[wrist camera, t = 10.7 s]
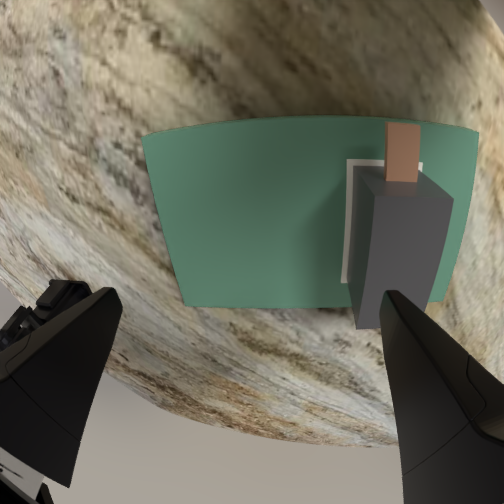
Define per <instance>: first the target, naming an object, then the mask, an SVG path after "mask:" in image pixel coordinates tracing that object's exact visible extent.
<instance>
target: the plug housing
mask: <svg viewBox="0 0 504 504" xmlns="http://www.w3.org/2000/svg"><path fill="white" fill-rule="evenodd" d="M420 127H421V126H420V125H417V124H408V123H398V122H385V154H384V166H353V192H352V215H351V231H350V245H349V256H348V267H347V277H346V279H347V284H348V289H349V293H350V298H351V303H352V309H353V314H354V319H355V325H356V330H357V329H375V328H381V327H380V319H379V310H380V306H381V302H382V298H383V294H384V292H385V291H386V290H398V291H400V292H401V293H402V294H403V295H404V296H406V297H407V298H408V299H409V300H410V301H411V302H413V303H414V304H415V305H416V306H417V307H418V308H420V309H421V310H422V311H423V312H424V311H425V309H426V306H427V303H428V300H429V297H430V294H431V291H432V288H433V285H434V281H435V278H436V275H437V271H438V268H439V264H440V261H441V257H442V253H443V249H444V245H445V241H446V237H447V233H448V228H449V223H450V219H451V213H452V208H453V202H454V198H453V197H451V196H450V195H449V194H448V193H447V192H446V191H444V190H443V189H442V188H441V187H440V186H439V185H437V184H436V183H435V182H434V181H432V180H431V179H430V178H429V177H427V176H426V175H425V174H424V173H422V172H421V171H420V170H418V166H419V152H420Z"/></svg>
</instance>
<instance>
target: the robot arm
mask: <svg viewBox="0 0 504 504" xmlns="http://www.w3.org/2000/svg"><path fill="white" fill-rule="evenodd" d="M49 285H50V286H49V287H48V288H47V289H46V290H45V292H44V293H43V294H42V295H41V296H40V297H39V299H38V300H37V301H36V305H37V307H36V308H35V309H34V310H33V309H32V308H31V307H30V306H29V307H28V308H27V309H26V308H25V307H23V306H20V307H19V308H18V309H17V310H16V312H15V313H14V314H13V315H12V316H11V318H10V319H9V320H8V321H7V323H6V324H5V325H4V326H3V327H2V329H1V330H0V504H54V503H53V500H52V498H51V495H50V493H49V489H48V486H47V485H46V484H45V483H43V482H42V481H43V478H44V476H46V477H48V478H50V479H52V480H53V481H56V482H57V483H59V484H61V485H63V486H65V487H67V488H69V487H70V484H71V479H72V475H73V471H74V466H75V463H76V458H77V454H78V450H79V447H80V443H81V442H80V441H81V439H82V435H83V432H84V428H85V425H86V421H87V418H88V415H89V411H90V408H91V405H92V402H93V399H94V396H95V393H96V390H97V387H98V384H99V381H100V378H101V376H102V373H103V370H104V367H105V364H106V362H107V359H108V356H109V354H110V351H111V348H112V345H113V342H114V338H115V335H116V331H117V328H118V324H119V321H120V318H121V314H122V311H123V306H122V303H121V301H120V299H119V296H118V294H117V292H116V290H115V289H114V288H112V287H103V288H102V289H100V290H98V291H97V292H95V293H93V294H92V293H91V291H90V289H89V287H88V285H87V284H86V283H85V282H84V281H70V280H54V279H51V280H50V281H49ZM379 319H380V327H381V335H382V343H383V353H384V360H385V365H386V370H387V375H388V380H389V385H390V390H391V396H392V401H393V407H394V413H395V420H396V426H397V433H398V441H399V449H400V458H401V468H402V482H403V498H404V504H504V384H502V383H501V382H500V381H499V380H498V379H496V378H495V377H494V376H493V375H492V374H491V373H490V372H488V371H487V370H486V369H485V368H484V367H483V366H482V365H481V364H480V363H479V362H478V361H477V360H476V359H475V358H473V357H472V356H471V355H470V354H469V353H468V352H467V351H466V350H465V349H464V348H463V347H462V346H461V345H460V344H459V343H457V342H456V341H455V340H454V339H453V338H452V337H451V336H450V335H449V334H448V333H447V332H446V331H444V330H443V329H442V328H441V327H440V326H439V325H438V324H437V323H436V322H434V321H433V320H432V319H431V318H430V317H429V316H428V315H426V314H425V313H424V312H423V311H422V310H421V309H420V308H418V307H417V306H416V305H415V304H414V303H413V302H411V301H410V300H409V299H408V298H407V297H406V296H404V295H403V294H402V293H401V292H400V291H398V290H386V291H385V292H384V294H383V298H382V302H381V306H380V310H379ZM20 325H22V326H23V327H22V328H21V326H20Z"/></svg>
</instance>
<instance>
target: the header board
mask: <svg viewBox="0 0 504 504" xmlns="http://www.w3.org/2000/svg"><path fill="white" fill-rule="evenodd" d="M385 122H398V123H408V124H417V125H420V126H421V127H420V152H419V166H418V170H420V171H421V172H422V173H424V174H425V175H426V176H427V177H429V178H430V179H431V180H432V181H434V182H435V183H436V184H437V185H439V186H440V187H441V188H442V189H443V190H444V191H446V192H447V193H448V194H449V195H450V196H451V197H453V198H454V202H453V208H452V213H451V219H450V223H449V228H448V233H447V237H446V241H445V245H444V249H443V253H442V257H441V261H440V264H439V268H438V271H437V275H436V278H435V281H434V285H433V288H432V291H431V294H430V297H429V300H428V302H438V301H443V299H444V296H445V293H446V291H447V288H448V285H449V282H450V279H451V276H452V273H453V270H454V266H455V263H456V260H457V256H458V253H459V249H460V245H461V242H462V238H463V234H464V230H465V225H466V221H467V216H468V211H469V206H470V201H471V196H472V190H473V184H474V177H475V169H476V161H477V151H478V139H479V132H477V131H474V130H471V129H469V128H464V127H459V126H453V125H447V124H440V123H434V122H426V121H418V120H409V119H399V118H387V117H372V116H347V115H306V116H281V117H265V118H252V119H242V120H232V121H223V122H215V123H208V124H201V125H194V126H188V127H182V128H176V129H171V130H165V131H160V132H155V133H151V134H148V135H146V136H144V137H141V140H142V145H143V150H144V155H145V159H146V164H147V169H148V173H149V177H150V182H151V186H152V190H153V195H154V199H155V203H156V207H157V211H158V215H159V218H160V222H161V226H162V230H163V233H164V237H165V241H166V244H167V248H168V251H169V255H170V258H171V262H172V265H173V268H174V272H175V275H176V278H177V281H178V285H179V288H180V291H181V294H182V297H183V300H184V303H185V306H193V307H222V308H334V307H352V303H351V298H350V293H349V289H348V284H347V279H346V277H347V267H348V256H349V245H350V231H351V215H352V192H353V166H384V154H385Z"/></svg>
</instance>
